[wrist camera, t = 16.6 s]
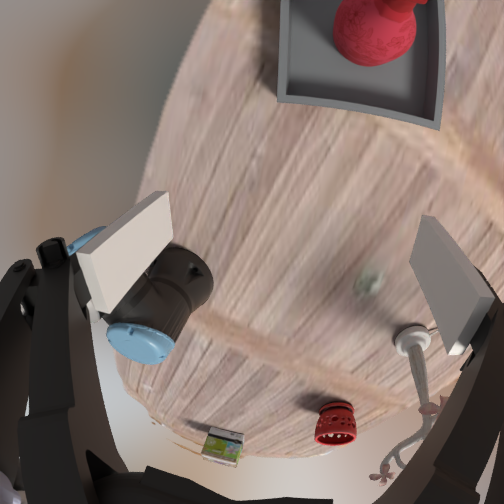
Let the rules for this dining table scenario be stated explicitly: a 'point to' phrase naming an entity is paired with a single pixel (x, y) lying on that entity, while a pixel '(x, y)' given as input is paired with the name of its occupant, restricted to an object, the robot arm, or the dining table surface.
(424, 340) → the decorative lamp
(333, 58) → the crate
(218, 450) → the tea box
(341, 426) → the plant pot
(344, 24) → the wine bottle
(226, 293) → the dining table surface
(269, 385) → the dining table surface
